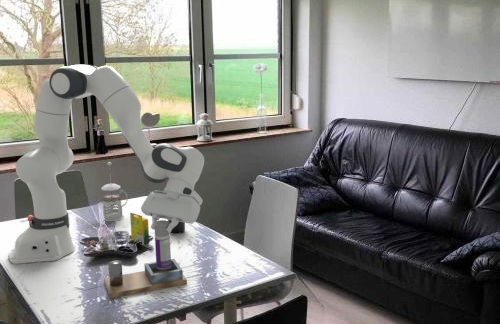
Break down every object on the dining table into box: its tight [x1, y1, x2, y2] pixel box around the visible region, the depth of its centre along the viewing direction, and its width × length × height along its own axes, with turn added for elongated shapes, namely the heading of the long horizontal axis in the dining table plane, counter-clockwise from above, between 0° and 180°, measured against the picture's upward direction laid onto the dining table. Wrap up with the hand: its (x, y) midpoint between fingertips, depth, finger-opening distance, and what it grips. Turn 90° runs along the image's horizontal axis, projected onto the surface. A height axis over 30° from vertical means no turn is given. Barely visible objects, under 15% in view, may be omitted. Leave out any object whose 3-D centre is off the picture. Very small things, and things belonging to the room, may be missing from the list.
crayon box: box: [129, 212, 150, 246], centre depth 204 cm, size 7×3×12 cm, turn 50°
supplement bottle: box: [167, 219, 186, 235], centre depth 215 cm, size 7×7×12 cm
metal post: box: [107, 259, 124, 287], centre depth 166 cm, size 4×4×7 cm
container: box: [154, 219, 172, 270], centre depth 170 cm, size 5×5×15 cm
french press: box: [101, 161, 128, 222], centre depth 231 cm, size 10×12×25 cm
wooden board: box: [103, 258, 188, 299], centre depth 170 cm, size 24×12×4 cm, turn 113°
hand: (160, 230), depth 169 cm, fingers closed on container, 4 cm apart
